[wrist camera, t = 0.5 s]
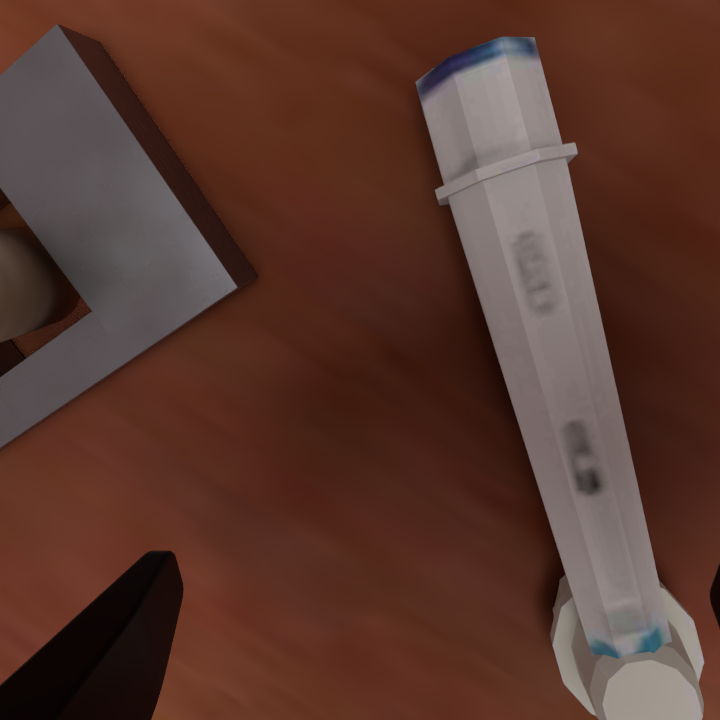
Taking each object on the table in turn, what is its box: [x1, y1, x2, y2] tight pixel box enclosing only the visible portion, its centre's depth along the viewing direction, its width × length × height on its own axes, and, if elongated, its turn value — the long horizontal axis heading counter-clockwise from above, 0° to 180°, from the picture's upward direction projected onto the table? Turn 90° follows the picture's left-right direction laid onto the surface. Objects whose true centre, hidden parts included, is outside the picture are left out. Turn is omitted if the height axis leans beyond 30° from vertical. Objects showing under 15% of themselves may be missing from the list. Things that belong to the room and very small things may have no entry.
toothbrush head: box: [416, 37, 704, 720], centre depth 21 cm, size 5×7×25 cm
